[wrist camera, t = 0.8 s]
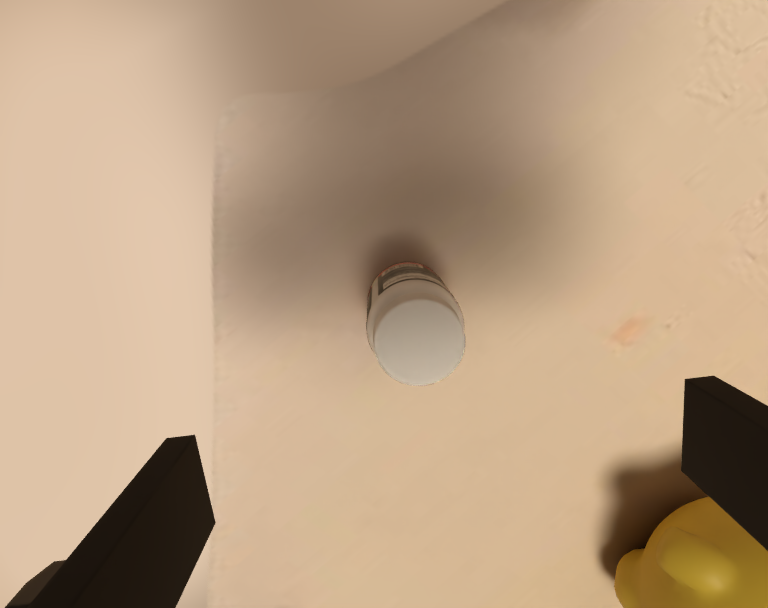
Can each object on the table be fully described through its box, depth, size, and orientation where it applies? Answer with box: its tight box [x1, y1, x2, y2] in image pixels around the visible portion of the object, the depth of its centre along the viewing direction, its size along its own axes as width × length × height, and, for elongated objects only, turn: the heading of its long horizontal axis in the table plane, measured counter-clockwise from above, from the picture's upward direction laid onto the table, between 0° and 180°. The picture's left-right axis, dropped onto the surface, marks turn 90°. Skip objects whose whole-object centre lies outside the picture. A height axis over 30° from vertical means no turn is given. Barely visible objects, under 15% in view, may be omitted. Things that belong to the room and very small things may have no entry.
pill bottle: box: [366, 262, 465, 386], centre depth 25 cm, size 5×5×8 cm
